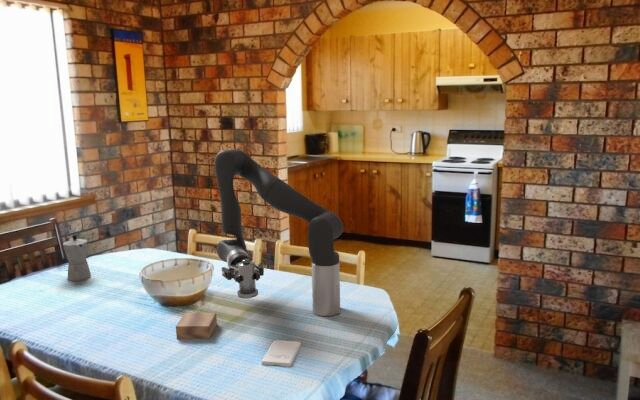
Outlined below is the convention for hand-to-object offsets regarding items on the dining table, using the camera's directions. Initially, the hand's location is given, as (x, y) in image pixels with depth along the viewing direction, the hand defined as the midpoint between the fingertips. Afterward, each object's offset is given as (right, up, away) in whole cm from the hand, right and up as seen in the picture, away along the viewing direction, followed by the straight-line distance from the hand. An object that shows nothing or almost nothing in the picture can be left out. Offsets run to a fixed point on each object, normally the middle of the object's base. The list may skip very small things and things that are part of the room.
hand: (248, 278), depth 160 cm
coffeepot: (-78, -8, +57) cm, 97 cm away
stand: (-17, -17, +5) cm, 24 cm away
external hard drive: (+11, -21, -11) cm, 26 cm away
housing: (-1, -5, +4) cm, 7 cm away
